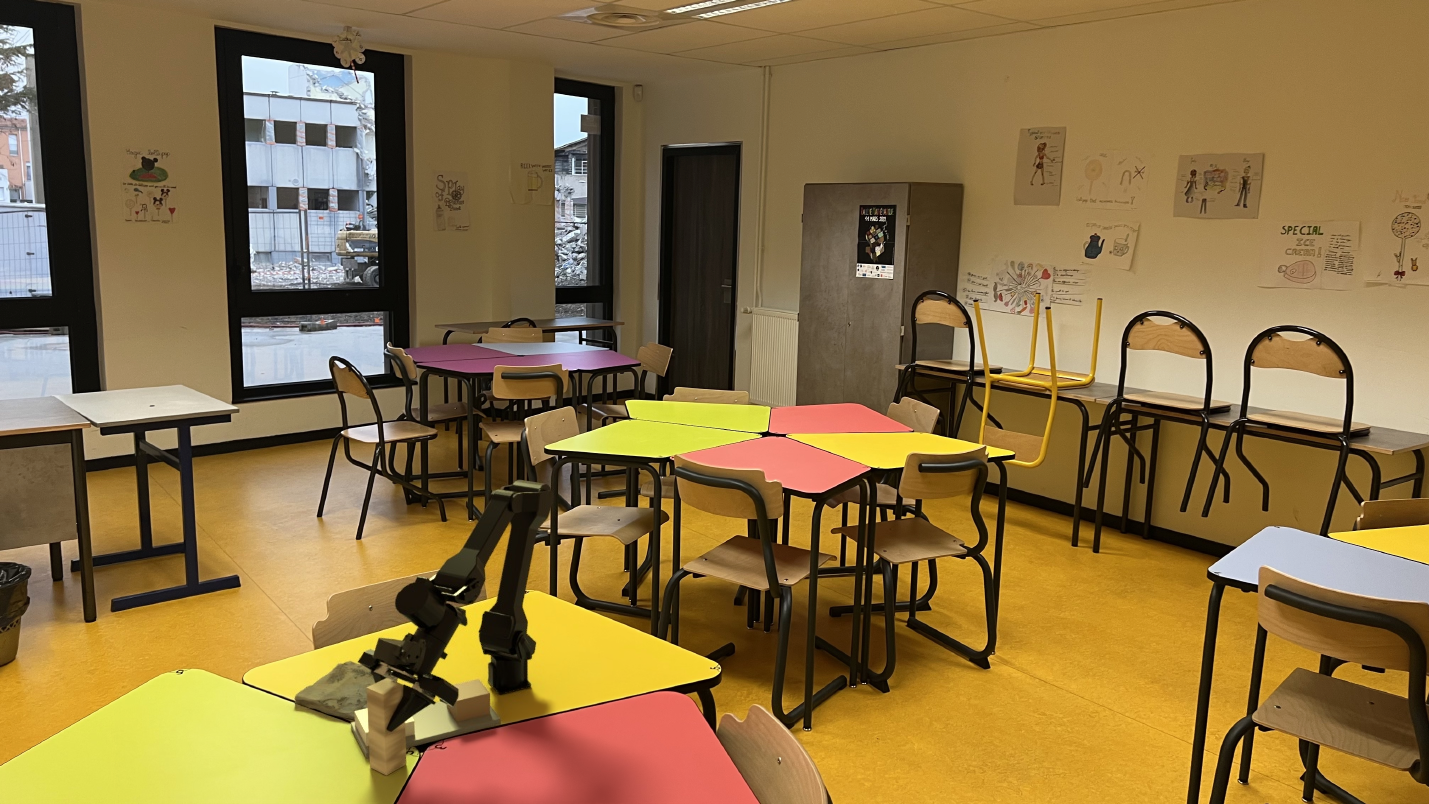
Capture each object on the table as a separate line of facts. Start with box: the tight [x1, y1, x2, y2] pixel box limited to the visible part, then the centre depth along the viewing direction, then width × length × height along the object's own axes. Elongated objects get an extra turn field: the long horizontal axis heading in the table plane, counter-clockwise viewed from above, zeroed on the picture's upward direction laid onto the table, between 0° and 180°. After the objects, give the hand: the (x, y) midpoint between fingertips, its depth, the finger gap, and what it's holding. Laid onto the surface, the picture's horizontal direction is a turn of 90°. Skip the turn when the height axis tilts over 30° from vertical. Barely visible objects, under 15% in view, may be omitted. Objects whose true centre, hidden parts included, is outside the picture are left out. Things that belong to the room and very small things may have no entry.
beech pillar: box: [367, 678, 407, 776], centre depth 161 cm, size 4×4×14 cm
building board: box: [350, 678, 502, 759], centre depth 174 cm, size 23×11×5 cm, turn 122°
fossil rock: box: [293, 660, 375, 721], centre depth 185 cm, size 18×15×2 cm
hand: (379, 726), depth 159 cm, fingers closed on beech pillar, 4 cm apart
